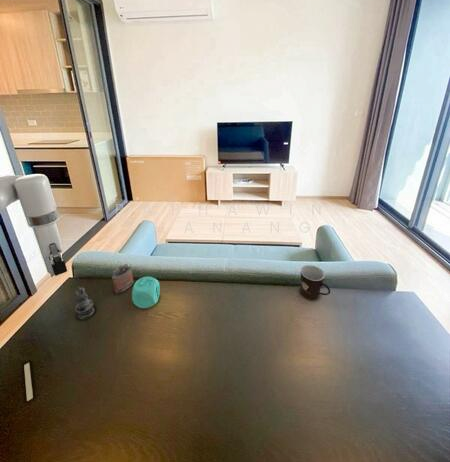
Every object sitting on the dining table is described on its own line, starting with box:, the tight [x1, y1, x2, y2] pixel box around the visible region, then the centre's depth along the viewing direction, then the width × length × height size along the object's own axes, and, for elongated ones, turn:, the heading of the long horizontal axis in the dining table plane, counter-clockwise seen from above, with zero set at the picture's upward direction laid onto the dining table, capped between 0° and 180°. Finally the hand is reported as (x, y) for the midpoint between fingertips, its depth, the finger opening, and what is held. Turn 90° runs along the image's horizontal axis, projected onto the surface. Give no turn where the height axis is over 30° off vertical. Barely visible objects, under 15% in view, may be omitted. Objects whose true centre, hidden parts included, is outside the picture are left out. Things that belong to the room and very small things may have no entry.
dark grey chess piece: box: [74, 286, 96, 320], centre depth 86 cm, size 6×6×12 cm
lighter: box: [111, 263, 135, 295], centre depth 98 cm, size 8×3×10 cm, turn 144°
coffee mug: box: [300, 264, 331, 300], centre depth 92 cm, size 12×9×10 cm
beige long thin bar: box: [23, 362, 34, 402], centre depth 67 cm, size 12×1×1 cm, turn 41°
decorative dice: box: [131, 276, 161, 309], centre depth 92 cm, size 8×8×8 cm
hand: (58, 265), depth 77 cm, fingers open, 9 cm apart
